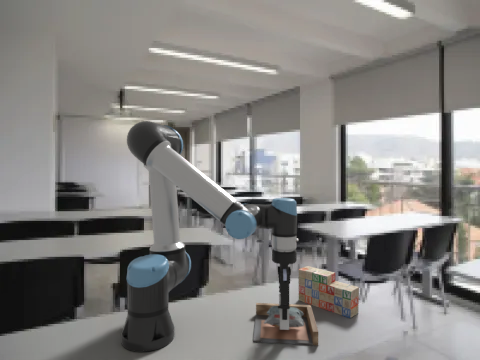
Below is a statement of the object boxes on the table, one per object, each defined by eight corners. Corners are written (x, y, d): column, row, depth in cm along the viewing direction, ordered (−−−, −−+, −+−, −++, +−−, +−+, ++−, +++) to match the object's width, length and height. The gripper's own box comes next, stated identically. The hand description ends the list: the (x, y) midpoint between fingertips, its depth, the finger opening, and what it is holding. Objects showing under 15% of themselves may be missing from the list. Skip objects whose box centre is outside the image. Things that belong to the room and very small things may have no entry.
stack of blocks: (359, 313, 113) (359, 278, 113) (350, 319, 109) (351, 282, 108) (307, 295, 128) (307, 265, 128) (297, 300, 124) (298, 268, 124)
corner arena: (253, 341, 94) (253, 328, 94) (256, 314, 112) (256, 302, 112) (318, 345, 92) (318, 331, 92) (310, 316, 110) (310, 305, 110)
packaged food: (304, 333, 94) (304, 316, 94) (263, 329, 97) (263, 313, 97) (303, 320, 103) (304, 304, 103) (266, 317, 105) (266, 301, 105)
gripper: (299, 259, 88) (299, 340, 89) (294, 241, 109) (293, 306, 110) (271, 258, 89) (271, 339, 89) (271, 240, 110) (271, 305, 111)
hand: (283, 321), depth 100 cm, fingers closed on packaged food, 9 cm apart
